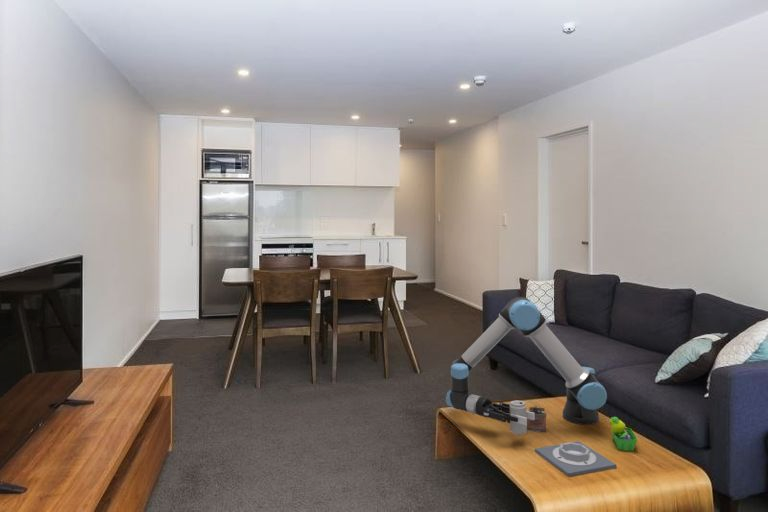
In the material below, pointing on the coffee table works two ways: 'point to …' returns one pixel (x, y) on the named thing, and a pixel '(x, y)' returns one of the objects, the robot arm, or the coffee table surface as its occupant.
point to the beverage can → (520, 410)
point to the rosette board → (575, 469)
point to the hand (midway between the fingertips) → (530, 418)
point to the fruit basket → (622, 435)
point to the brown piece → (537, 420)
